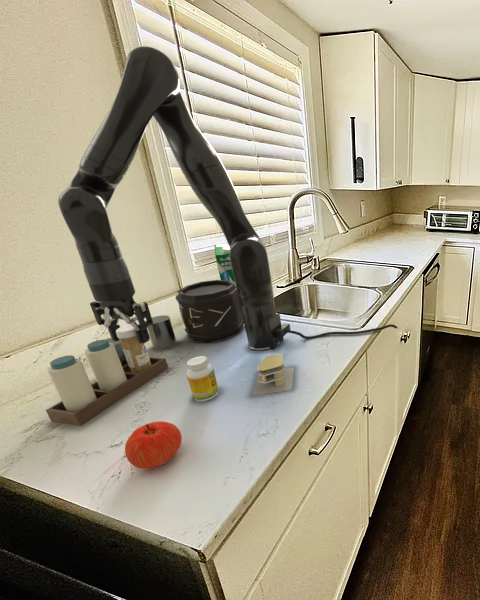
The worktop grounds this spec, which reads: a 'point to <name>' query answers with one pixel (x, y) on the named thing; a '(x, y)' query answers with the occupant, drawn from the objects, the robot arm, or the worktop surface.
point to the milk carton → (224, 262)
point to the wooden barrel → (210, 310)
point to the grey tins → (152, 336)
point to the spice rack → (107, 395)
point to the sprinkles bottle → (133, 349)
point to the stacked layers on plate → (273, 376)
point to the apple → (153, 444)
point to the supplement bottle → (202, 379)
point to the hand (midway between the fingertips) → (131, 340)
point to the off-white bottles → (75, 380)
